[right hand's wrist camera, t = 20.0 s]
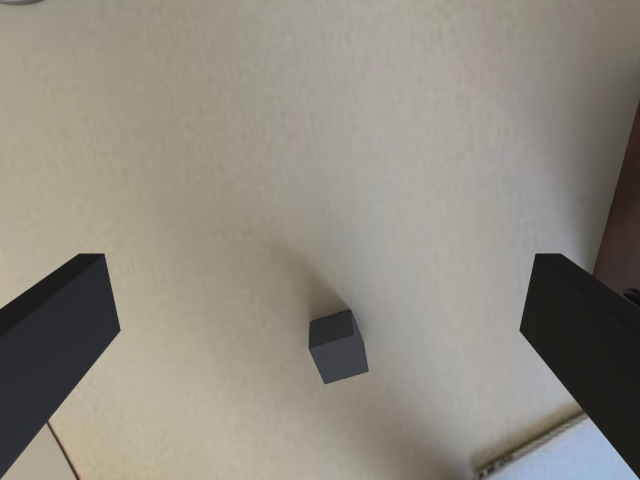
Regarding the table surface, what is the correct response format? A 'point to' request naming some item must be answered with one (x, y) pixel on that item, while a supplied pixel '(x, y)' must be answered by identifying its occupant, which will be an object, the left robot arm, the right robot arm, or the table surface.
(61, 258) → the table surface
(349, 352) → the grey block
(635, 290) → the left robot arm
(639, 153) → the beam
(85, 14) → the table surface
